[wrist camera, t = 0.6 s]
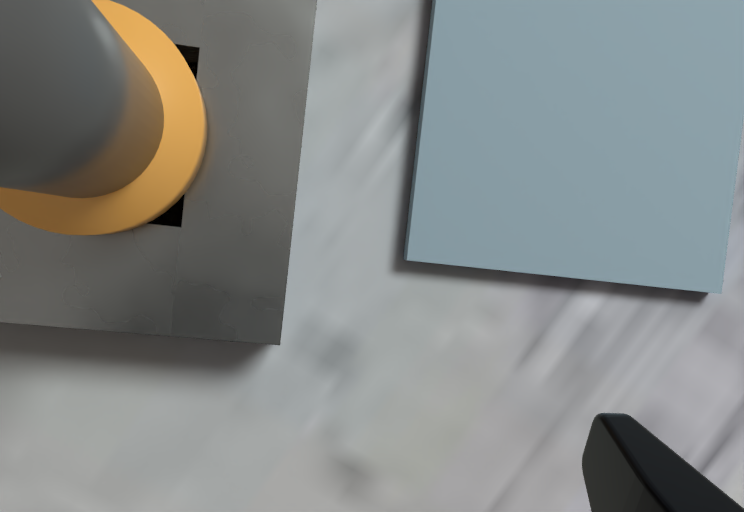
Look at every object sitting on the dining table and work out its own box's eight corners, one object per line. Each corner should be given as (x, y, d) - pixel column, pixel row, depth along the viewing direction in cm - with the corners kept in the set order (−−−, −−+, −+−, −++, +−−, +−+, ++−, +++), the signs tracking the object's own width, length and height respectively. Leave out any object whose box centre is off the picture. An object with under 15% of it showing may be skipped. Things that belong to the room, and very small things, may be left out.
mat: (710, 292, 24) (721, 293, 23) (403, 259, 22) (406, 260, 21) (749, -25, 23) (762, -32, 23) (442, -86, 21) (446, -95, 21)
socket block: (279, 334, 21) (279, 345, 19) (-107, 301, 19) (-151, 309, 17) (317, -19, 21) (321, -44, 19) (-72, -86, 19) (-112, -123, 17)
